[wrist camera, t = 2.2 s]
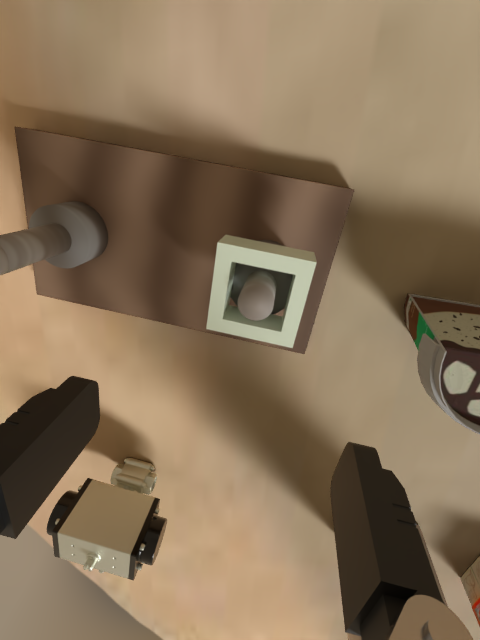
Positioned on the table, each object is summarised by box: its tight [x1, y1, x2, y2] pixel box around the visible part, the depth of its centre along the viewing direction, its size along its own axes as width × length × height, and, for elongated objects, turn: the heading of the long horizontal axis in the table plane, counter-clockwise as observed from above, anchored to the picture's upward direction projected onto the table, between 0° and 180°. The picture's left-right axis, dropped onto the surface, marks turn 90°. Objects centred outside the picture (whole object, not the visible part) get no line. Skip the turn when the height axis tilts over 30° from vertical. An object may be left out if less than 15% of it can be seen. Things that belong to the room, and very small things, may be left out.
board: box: [0, 127, 354, 354], centre depth 23 cm, size 26×14×12 cm, turn 81°
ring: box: [206, 235, 317, 348], centre depth 21 cm, size 6×6×2 cm
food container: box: [404, 294, 480, 434], centre depth 24 cm, size 12×6×10 cm, turn 84°
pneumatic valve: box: [47, 457, 167, 580], centre depth 37 cm, size 6×12×12 cm, turn 78°
